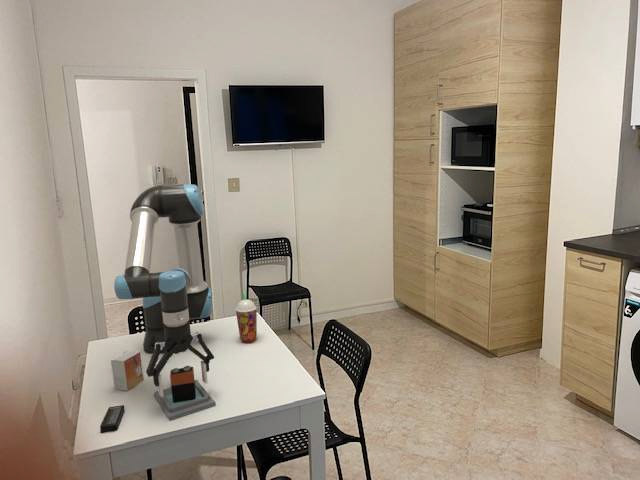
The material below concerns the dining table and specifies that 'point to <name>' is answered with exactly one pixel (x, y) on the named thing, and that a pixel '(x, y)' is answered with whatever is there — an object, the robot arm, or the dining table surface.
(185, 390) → the battery
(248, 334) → the smoothie
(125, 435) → the dining table surface
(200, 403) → the dock
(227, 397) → the dining table surface
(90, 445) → the dining table surface
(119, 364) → the small box
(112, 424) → the multiport hub
